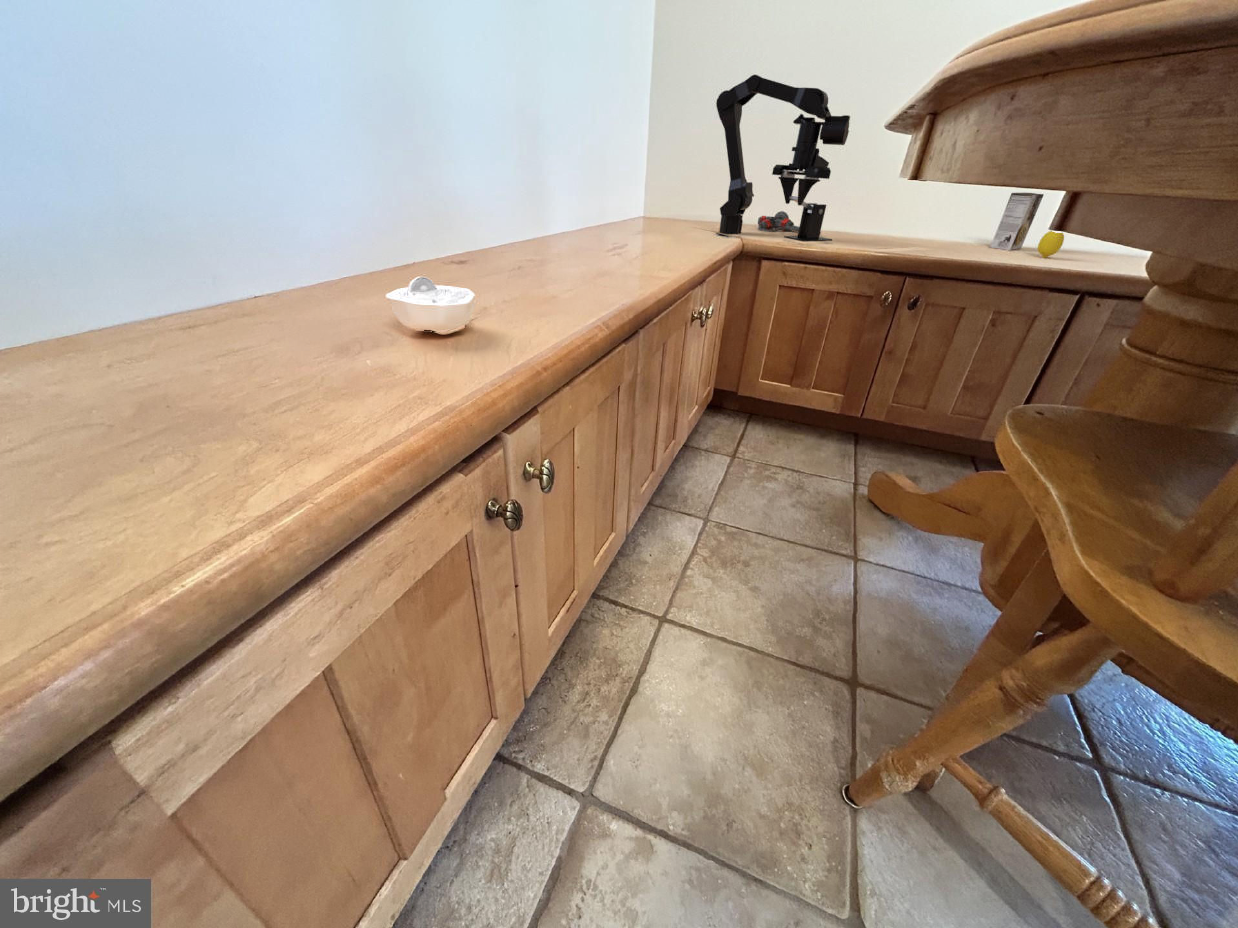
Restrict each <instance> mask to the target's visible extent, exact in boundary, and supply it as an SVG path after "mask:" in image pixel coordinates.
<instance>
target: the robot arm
mask: <svg viewBox="0 0 1238 928" xmlns="http://www.w3.org/2000/svg"><path fill="white" fill-rule="evenodd" d="M758 94H759V95H762V96H766V97H769V98H772V99H776V100H779V101H783V102H785V103H789V104H791V105H793V106H795V107H796V108H797V109H799V110H801V111H802V112H804V113H807V114H809V115H811V117H807V116H806V117H805V115H804V114H803V113H800V114H799V115H798V117H796V118H795V119H794V120H793V121H792V122H793V124H794V125H799V128H798V132H797V133H798V134H797V139H796V143H795V146H792V147H791V152H793V156H792V157H793V158H792V162H791V163H788V164H776V165H774V166H773V168H772V173H771V175H773V176H778V177H777V178H778V180H780V184H781V188H782V192H783V196H784V202H785V204H787V205H789V204H790V203H791V200H788V197H789V196H793V192H794V189H795V185H796V183H797V182H798V185H797V188H798V190H797V197H798V203H797V206H799V207H800V206H801V207H802V203H803V201H804V202H805V200H806V197H807V196H808V194H809V192H810V190H811V189H812V188H813V186H814V185H816V184H817V183H819V182H821V179H824V180H825V179H827V180H829V179H830V176H831V173H832V170H831V167H829V165H830V162H829V161H828V160H826V159H825V158H824V157H822V156H820V148H817V146H818V141H819V140H820V141H822V144H823V145H830V146H831V145H832V146H845V144H846V142H847V140H848V136H849V132H850V129H849V128H850V120H851V115H848V114H847V115H845V114H844V115H832V113H831V111H830V108H829V106H828V104H829V97H828V93H827V92H825V91H824V90H822V89H820V88H818V87H797V86H796V87H795V86H792V85H788V84H785V83H782V82H779V81H775V80H772V79H768V78H765V77H762V76H760V75H758V74H752V75H750V76H749V77H748V78H747V79H745V80H744V81H742V82H740V83H738V84H736V85H735V86H733V87H731V88H730V89H729V90H728V89H726V90H724V91H722V92H720V93H719V94H718V97H717V99H716V100H715V101H716V102H715V106H716V110H717V115H718V117H719V118H718V119H719V120H720V122H721V124H722V126H723V129H724V138H725V145H726V154H727V161H728V162H727V163H728V170H729V178H730V179H729V185H728V191H727V200H726V202H725V203H724V204H722V206H720V208H719V213H720V222H719V231H718V232H716V233H715V234H716V235H719V236H723V237H727V238H729V237H731V238H732V236H731V235H740V234H742V229H743V224H744V222H743V221H744V220H743V217H744V216H743V215H744V214H745V212H746V210H747V209H749V208H750V206H751V205H752V203H753V197H755V194H754V191H753V182H752V181H748V180H747V179H746V173H745V164H744V155H743V143H742V136H741V126H740V125H741V120H742V115H743V106H745V105H746V104H748V103H749V102H750V101H751V100H752V99H753V98H755V96H756V95H758ZM812 116H815V117H812ZM816 118H818V119H820V120H823V121H816ZM796 175H797V176H803V177H802V178H800V177H796Z"/></svg>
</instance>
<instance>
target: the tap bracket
mask: <svg viewBox="0 0 1238 928" xmlns="http://www.w3.org/2000/svg"><path fill="white" fill-rule="evenodd" d="M806 203H807V202H806ZM807 204H809V205H813V209H812V214H811V215H810V214H809V213H807V211H808V209H807V208H805V207H803V206H802V212H801V217H800V222H799V226H798V227H799V231H797V235H783V238H784V239H785V238H786V239H789V240H793V241H798V242H803V243H804V242H832V241H833V239H832V238H828V237H823V236H821V234H820V232H821V230H822V226H823V221H824V218H825V214H826V209H827V204H821V203H820V204H819V203H816V202H815V203H814V202H808V203H807Z"/></svg>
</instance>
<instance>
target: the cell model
mask: <svg viewBox="0 0 1238 928" xmlns="http://www.w3.org/2000/svg"><path fill="white" fill-rule="evenodd" d="M385 298H386V299H387V300H388V302H389V304H390V306H391V308H392V312H393V314H394V316H395V317H396V319H397V320H398V321H399V322H400V324H401V325H403V326H404V325H405V326H407V327H411V328H415V329H416V328H417V329H427V330H446V329H454V328H458V327H461V326H463V325H465V324H467V323H468V324H470V322H471V320H472V317H473V315H474V313H475V310H476V304H475V303H476V302H475V292H473V291H472V290H471V289H469V288H466V287H459V286H453V285H440V284H435V282H434V281H433V280H431V279H430V278H428V277H426V276H417V277H415V278H413V279H412V280H411V281H410V282H409V283H408V286H406V287H401V288H397V289H395V290H393V291H390V292H388V293H386V295H385ZM405 326H404V327H405ZM407 327H406V328H407ZM465 328H466V327H463V328H461V329H458V330H455V331H451V332H443V333H442V332H434V334H435V333H436V334H439V335H445V336H446V335H449V334H453V333H455V332H458V331H462V330H463V329H465ZM416 331H418V332H425V331H424V330H416Z"/></svg>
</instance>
